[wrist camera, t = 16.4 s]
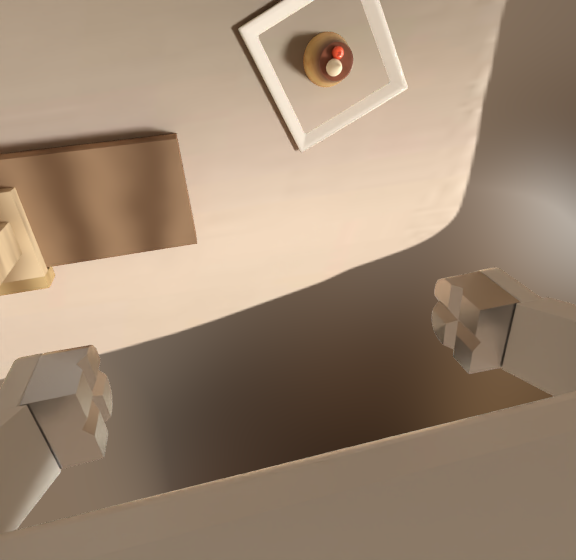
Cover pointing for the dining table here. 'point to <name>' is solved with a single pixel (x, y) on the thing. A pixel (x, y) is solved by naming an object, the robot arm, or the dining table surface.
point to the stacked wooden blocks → (19, 249)
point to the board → (103, 197)
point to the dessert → (325, 67)
